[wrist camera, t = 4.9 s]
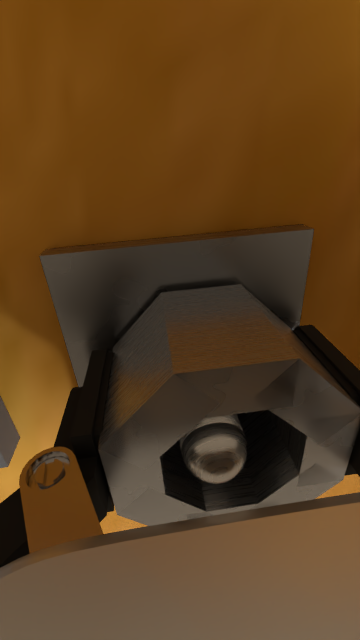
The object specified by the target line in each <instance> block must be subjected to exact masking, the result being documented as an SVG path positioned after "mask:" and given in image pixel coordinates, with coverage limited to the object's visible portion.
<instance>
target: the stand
mask: <svg viewBox="0 0 360 640" xmlns="http://www.w3.org/2000/svg"><path fill="white" fill-rule="evenodd" d="M313 233H314V229H313V228H310V227H308V226H306V225H303V224H300V225H290V226H279V227H269V228H259V229H248V230H238V231H228V232H217V233H207V234H197V235H186V236H176V237H166V238H155V239H145V240H135V241H124V242H114V243H104V244H93V245H83V246H72V247H62V248H52V249H45V251H44V252H43V253H42V254H41V255H40V256H39V257H40V260H41V263H42V267H43V270H44V273H45V277H46V280H47V283H48V287H49V290H50V293H51V297H52V300H53V303H54V307H55V310H56V313H57V317H58V320H59V323H60V327H61V330H62V333H63V337H64V340H65V343H66V347H67V350H68V353H69V357H70V360H71V363H72V367H73V370H74V373H75V377H76V380H77V383H78V387H83V383H84V379H85V376H86V372H87V368H88V364H89V360H90V356H91V352H92V350H99V349H108V350H109V352H113V347H114V346H115V345H116V343H117V342H118V341H119V340H120V339H121V338H122V337H123V335H124V334H125V333H126V332H127V331H128V330H129V329H130V328H131V326H132V325H133V324H134V323H135V322H136V321H137V320H138V318H139V317H140V316H141V315H142V314H143V313H144V312H145V310H146V309H147V308H148V307H149V306H150V305H151V304H152V302H153V301H154V300H155V299H156V298H157V297H158V296H159V295H160V293H161V292H171V291H180V290H190V289H199V288H209V287H218V286H228V285H237V284H241V285H242V286H243V287H244V288H245V289H246V290H247V291H249V292H250V293H251V294H252V295H253V296H254V297H255V298H257V299H258V300H259V301H260V302H261V303H262V304H263V305H265V306H266V307H267V308H268V309H269V310H270V311H271V312H272V313H274V314H275V315H276V316H277V317H278V318H279V319H280V320H282V321H283V322H284V323H285V324H286V325H287V326H289V328H290V329H291V330H292V331H294V330H295V328H296V327H297V326H299V325H300V318H301V311H302V305H303V298H304V292H305V285H306V279H307V272H308V266H309V259H310V252H311V246H312V239H313ZM179 441H180V447H181V453H182V457H183V460H184V462H185V464H186V466H187V468H188V469H189V471H190V472H191V473H192V474H193V475H194V476H195V477H197V478H198V479H200V480H202V481H204V482H208V483H212V484H219V483H224V482H227V481H229V480H231V479H233V478H234V477H235V476H236V475H237V474H238V473H239V472H240V471H241V470H242V468H243V466H244V464H245V462H246V457H247V441H246V437H245V434H244V431H243V429H242V426H241V424H240V421H239V419H238V416H237V414H233V415H225V416H218V417H211V418H203V419H202V420H201V421H200V422H198V423H197V424H196V425H195V426H194V427H193V428H192V429H191V430H189V431H188V432H187V433H186V434H185V435H184V436H183V437H182V438H180V439H179Z"/></svg>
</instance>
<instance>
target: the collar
mask: <svg viewBox="0 0 360 640" xmlns="http://www.w3.org/2000/svg"><path fill="white" fill-rule="evenodd" d="M233 414H237V416H238V419H239V421H240V424H241V426H242V429H243V431H244V434H245V437H246V441H247V457H246V462H245V464H244V466H243V468H242V470H241V471H240V472H239V473H238V474H237V475H236V476H235V477H234V478H233V479H231V480H229V481H227V482H224V483H219V484H212V483H208V482H204V481H202V480H200V479H198V478H197V477H195V476H194V475H193V474H192V473H191V472H190V471H189V469H188V468H187V466H186V464H185V462H184V460H183V457H182V453H181V447H180V441H179V439H180V438H182V437H183V436H184V435H185V434H186V433H187V432H188V431H189V430H191V429H192V428H193V427H194V426H195V425H196V424H197V423H198V422H200V421H201V420H202V419H203V418H211V417H218V416H225V415H233ZM359 427H360V407H359V405H358V404H357V403H356V402H355V401H354V400H353V399H352V398H351V397H350V396H349V395H348V393H347V392H346V391H345V390H344V389H343V388H342V387H341V386H340V384H339V383H338V382H337V381H336V380H335V379H334V378H333V376H332V375H331V374H330V373H329V372H328V371H327V370H326V369H325V367H324V366H323V365H322V364H321V363H320V362H319V361H318V360H317V358H316V357H315V356H314V355H313V354H312V353H311V352H310V350H309V349H308V348H307V347H306V346H305V345H304V344H303V343H302V341H301V340H300V339H299V338H298V337H297V336H296V335H295V334H294V332H293V331H292V330H291V329H290V328H289V326H287V325H286V324H285V323H284V322H283V321H282V320H280V319H279V318H278V317H277V316H276V315H275V314H274V313H272V312H271V311H270V310H269V309H268V308H267V307H266V306H265V305H263V304H262V303H261V302H260V301H259V300H258V299H257V298H255V297H254V296H253V295H252V294H251V293H250V292H249V291H247V290H246V289H245V288H244V287H243V286H242V285H241V284H237V285H228V286H218V287H209V288H199V289H190V290H180V291H171V292H161V293H160V295H159V296H158V297H157V298H156V299H155V300H154V301H153V302H152V304H151V305H150V306H149V307H148V308H147V309H146V310H145V312H144V313H143V314H142V315H141V316H140V317H139V318H138V320H137V321H136V322H135V323H134V324H133V325H132V326H131V328H130V329H129V330H128V331H127V332H126V333H125V334H124V335H123V337H122V338H121V339H120V340H119V341H118V342H117V343H116V345H115V346H114V347H113V358H112V365H111V372H110V379H109V386H108V393H107V399H106V406H105V413H104V420H103V427H102V432H101V433H100V440H99V446H98V450H99V454H100V457H101V461H102V464H103V467H104V471H105V474H106V478H107V481H108V485H109V488H110V492H111V495H112V498H113V502H114V505H115V509H116V512H117V515H119V516H122V517H125V518H128V519H131V520H134V521H136V522H139V523H142V524H145V525H148V526H152V525H159V524H165V523H171V522H177V521H183V520H189V519H195V518H201V517H207V516H213V515H219V514H226V513H232V512H238V511H244V510H251V509H257V508H263V507H269V506H276V505H282V504H288V503H295V502H301V501H307V500H314V499H315V498H317V497H318V496H320V495H321V494H323V493H324V492H326V491H327V490H329V489H330V488H332V487H333V486H335V485H336V484H338V483H339V482H340V481H342V480H343V478H344V475H345V472H346V469H347V465H348V462H349V459H350V456H351V453H352V449H353V446H354V443H355V440H356V437H357V434H358V430H359Z"/></svg>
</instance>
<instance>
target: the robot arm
mask: <svg viewBox="0 0 360 640" xmlns="http://www.w3.org/2000/svg"><path fill="white" fill-rule="evenodd" d="M293 332H294V334H295V335H296V336H297V337H298V338H299V339H300V340H301V341H302V343H303V344H304V345H305V346H306V347H307V348H308V349H309V350H310V352H311V353H312V354H313V355H314V356H315V357H316V358H317V360H318V361H319V362H320V363H321V364H322V365H323V366H324V367H325V369H326V370H327V371H328V372H329V373H330V374H331V375H332V376H333V378H334V379H335V380H336V381H337V382H338V383H339V384H340V386H341V387H342V388H343V389H344V390H345V391H346V392H347V393H348V395H349V396H350V397H351V398H352V399H353V400H354V401H355V402H356V403H357V404H358V405H359V407H360V370H359V369H357V368H356V367H355V366H354V365H353V364H352V363H351V362H350V361H349V360H348V359H347V358H346V357H345V356H344V355H343V354H342V353H341V352H340V351H339V350H338V349H337V348H336V347H335V346H334V345H333V344H332V343H331V342H329V341H328V340H327V339H326V338H325V337H324V336H323V335H322V334H321V333H320V332H319V331H318V330H317V329H316V328H315V327H314V326H313V325H305V326H297V327H296V328H295V330H294V331H293ZM112 358H113V352H109V350H108V349H99V350H92V352H91V356H90V360H89V364H88V368H87V372H86V376H85V379H84V383H83V387H76V388H73V389H72V390H71V392H70V395H69V398H68V402H67V405H66V408H65V411H64V415H63V418H62V421H61V425H60V428H59V431H58V434H57V438H56V441H55V444H54V447H51V448H49V449H46V450H43V451H42V452H40V453H38V454H36V455H35V456H34V457H33V458H32V459H30V460H29V461H28V462H27V464H26V465H25V467H24V468H23V470H22V472H21V474H20V479H19V486H20V488H19V489H18V490H17V491H15V492H14V493H13V494H12V495H10V496H9V497H8V498H7V499H5V500H4V501H3V502H2V503H0V640H360V492H359V493H353V494H346V495H339V496H333V497H326V498H320V499H314V500H307V501H301V502H295V503H288V504H282V505H276V506H269V507H263V508H257V509H251V510H244V511H238V512H232V513H226V514H219V515H213V516H207V517H201V518H195V519H189V520H183V521H177V522H171V523H165V524H159V525H152V526H146V527H141V528H135V529H130V530H124V531H119V532H113V533H108V534H103V531H102V529H101V526H100V522H101V521H102V520H103V519H104V517H105V516H106V515H107V512H110V511H114V502H113V498H112V495H111V492H110V488H109V485H108V481H107V478H106V474H105V471H104V467H103V464H102V461H101V457H100V454H99V450H98V446H99V440H100V433H101V432H102V427H103V420H104V413H105V406H106V399H107V393H108V386H109V379H110V372H111V365H112ZM351 474H358V475H359V476H360V427H359V430H358V434H357V437H356V440H355V443H354V446H353V449H352V453H351V456H350V459H349V462H348V465H347V469H346V472H345V475H351Z"/></svg>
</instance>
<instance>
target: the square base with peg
mask: <svg viewBox="0 0 360 640" xmlns="http://www.w3.org/2000/svg"><path fill="white" fill-rule="evenodd" d="M19 439H20V436H19V434H18V432H17V430H16V428H15V426H14V424H13V422H12V420H11V417H10V415H9V413H8V411H7V409H6V407H5V405H4V403H3V401H2V399H1V396H0V468H3V467H8V466H9V463H10V461H11V459H12V456H13V454H14V451H15V449H16V446H17V444H18V441H19Z"/></svg>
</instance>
